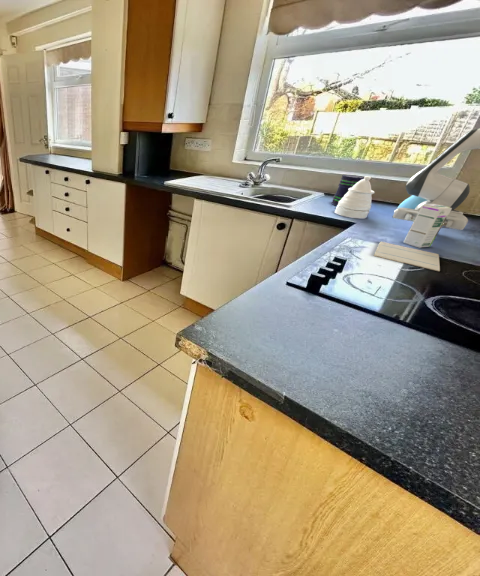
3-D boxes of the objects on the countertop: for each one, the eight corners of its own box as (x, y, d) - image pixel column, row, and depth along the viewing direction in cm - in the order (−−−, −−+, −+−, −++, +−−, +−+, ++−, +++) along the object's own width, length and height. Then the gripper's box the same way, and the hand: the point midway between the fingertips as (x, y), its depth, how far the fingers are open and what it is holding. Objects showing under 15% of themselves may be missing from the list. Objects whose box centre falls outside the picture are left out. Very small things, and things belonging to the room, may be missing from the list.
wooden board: (438, 254, 108) (438, 254, 108) (439, 271, 95) (440, 270, 95) (380, 242, 118) (380, 241, 118) (373, 255, 105) (374, 254, 105)
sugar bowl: (415, 213, 162) (428, 190, 156) (443, 222, 149) (458, 197, 143) (386, 212, 162) (398, 188, 156) (411, 220, 149) (425, 195, 143)
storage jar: (326, 202, 176) (337, 174, 169) (341, 202, 178) (353, 174, 170) (341, 207, 167) (354, 177, 160) (357, 207, 169) (370, 178, 162)
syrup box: (419, 248, 114) (442, 208, 107) (401, 242, 119) (422, 203, 112) (430, 247, 115) (453, 207, 108) (412, 241, 120) (433, 203, 113)
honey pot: (369, 220, 146) (388, 179, 137) (336, 215, 150) (353, 176, 142) (362, 213, 156) (380, 175, 147) (332, 209, 161) (347, 172, 152)
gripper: (398, 202, 130) (395, 207, 121) (469, 213, 117) (472, 219, 109) (390, 217, 133) (387, 223, 124) (459, 229, 121) (461, 237, 112)
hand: (428, 221), depth 116 cm, fingers open, 8 cm apart
